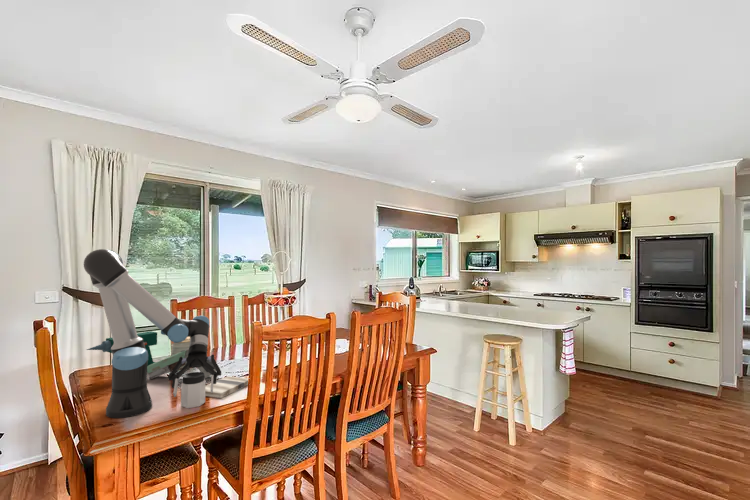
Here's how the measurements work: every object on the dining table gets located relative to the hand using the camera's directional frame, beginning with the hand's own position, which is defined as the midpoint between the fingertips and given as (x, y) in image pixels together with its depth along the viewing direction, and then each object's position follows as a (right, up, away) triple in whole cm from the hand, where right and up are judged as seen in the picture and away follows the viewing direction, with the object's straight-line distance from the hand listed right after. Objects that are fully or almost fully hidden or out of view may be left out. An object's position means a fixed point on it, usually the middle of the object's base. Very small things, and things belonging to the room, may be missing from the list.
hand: (193, 393), depth 151 cm
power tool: (-55, -6, +38) cm, 67 cm away
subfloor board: (+4, -6, +20) cm, 21 cm away
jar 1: (-33, -7, +57) cm, 67 cm away
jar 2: (-1, -5, +2) cm, 6 cm away
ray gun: (-23, -6, +36) cm, 43 cm away
